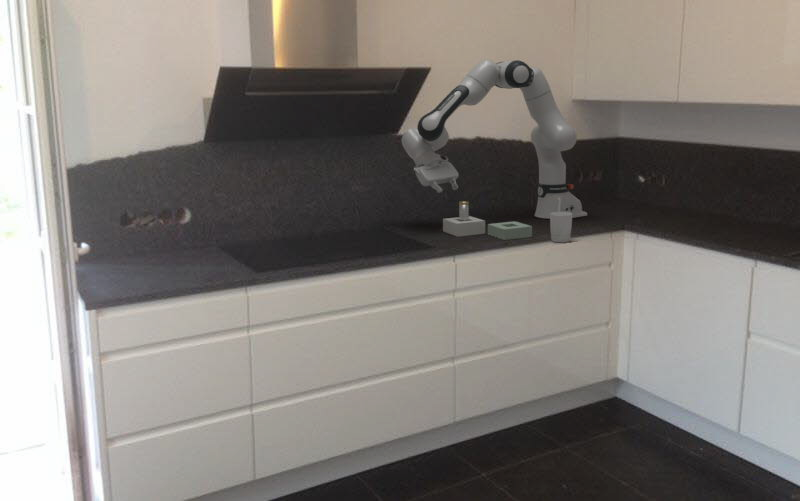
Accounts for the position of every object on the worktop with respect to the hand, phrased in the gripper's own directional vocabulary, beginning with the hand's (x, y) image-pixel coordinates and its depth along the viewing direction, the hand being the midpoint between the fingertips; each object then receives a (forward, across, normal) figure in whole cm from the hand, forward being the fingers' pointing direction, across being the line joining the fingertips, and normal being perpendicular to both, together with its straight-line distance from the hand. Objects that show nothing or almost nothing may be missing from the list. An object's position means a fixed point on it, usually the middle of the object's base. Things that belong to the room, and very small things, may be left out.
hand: (448, 190), depth 289 cm
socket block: (+29, +5, -6) cm, 30 cm away
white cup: (+43, +8, -20) cm, 48 cm away
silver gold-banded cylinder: (+16, 0, +6) cm, 18 cm away
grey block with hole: (+16, 0, +6) cm, 17 cm away
